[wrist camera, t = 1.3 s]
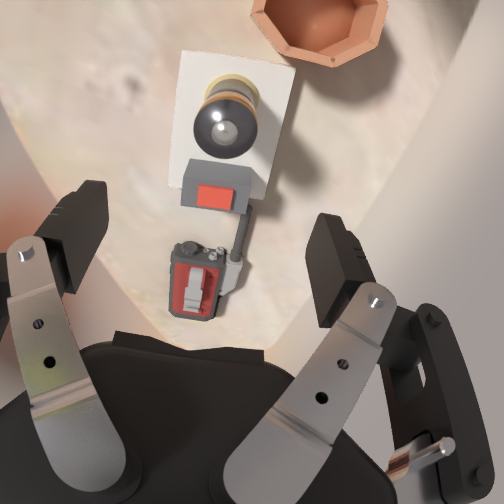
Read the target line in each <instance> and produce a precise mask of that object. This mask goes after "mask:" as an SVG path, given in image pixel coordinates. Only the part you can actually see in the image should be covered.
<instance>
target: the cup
mask: <svg viewBox="0 0 504 504" xmlns="http://www.w3.org/2000/svg"><path fill="white" fill-rule="evenodd" d="M387 4H388V2H387V0H254V3H253V7H252V11H251V18H252V20H253V21H254V22H255V23H256V25H257V26H258V27H259V29H260V30H261V31H262V33H263V34H264V35H265V37H266V38H267V39H268V41H269V42H270V43H271V45H272V46H273V48H274V49H275V50H276V51H278V52H279V53H281V54H282V55H285V56H289V57H294V58H298V59H302V60H306V61H310V62H314V63H318V64H321V65H325V66H328V67H332V68H333V67H335V68H336V67H337V66H339V65H341V64H343V63H345V62H347V61H349V60H351V59H353V58H356V57H358V56H360V55H362V54H364V53H366V52H368V51H370V50H372V49H375V48H376V47H375V46H378V42H379V39H380V35H381V32H382V28H383V24H384V21H385V17H386V13H387V9H388V5H387Z"/></svg>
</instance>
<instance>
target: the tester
mask: <svg viewBox="0 0 504 504" xmlns="http://www.w3.org/2000/svg"><path fill="white" fill-rule="evenodd" d="M295 72H296V68H295V67H294V66H289V65H285V64H280V63H275V62H270V61H265V60H260V59H254V58H249V57H242V56H236V55H229V54H222V53H214V52H205V51H195V50H183V51H182V54H181V61H180V68H179V75H178V83H177V91H176V99H175V108H174V117H173V127H172V138H171V149H170V162H169V176H168V187H174V188H182V194H181V206H187V207H195V208H202V209H209V210H217V211H224V212H231V213H238V214H244V215H245V214H246V209H247V205H248V200H249V198H253V199H259V200H264V196H265V192H266V188H267V184H268V180H269V176H270V172H271V168H272V164H273V160H274V156H275V152H276V148H277V144H278V140H279V136H280V132H281V128H282V124H283V120H284V116H285V112H286V108H287V104H288V100H289V96H290V92H291V88H292V84H293V80H294V76H295ZM225 79H238V80H241V81H243V82H245V83H246V84H247V85H248V86H249V87H250V88H251V90H252V92H253V95H254V103H255V111H256V115H257V123H258V133H257V137H256V140H255V142H254V144H253V145H252V147H251V148H250V149H249V150H248V151H247V152H246V153H244V154H243V155H241V156H239V157H236V158H232V159H219V158H215V157H212V156H210V155H208V154H207V153H205V152H204V151H203V150H202V149H201V148H200V147H199V146H198V144H197V142H196V140H195V138H194V132H193V125H194V120H195V117H196V115H197V114H198V112H199V110H200V108H201V106H202V104H203V103H204V102H205V100H206V98H207V97H208V95H209V93H210V91H211V89H212V88H213V87H214V86H215V84H217V83H218V82H220V81H222V80H225Z"/></svg>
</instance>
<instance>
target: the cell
mask: <svg viewBox="0 0 504 504" xmlns="http://www.w3.org/2000/svg"><path fill="white" fill-rule="evenodd" d="M193 132H194V138H195V140H196V142H197V144H198V146H199V147H200V148H201V149H202V150H203V151H204V152H205V153H207V154H208V155H210V156H212V157H215V158H219V159H232V158H236V157H239V156H241V155H243V154H244V153H246V152H247V151H248V150H249V149H250V148H251V147H252V145H253V144H254V142H255V140H256V137H257V133H258V123H257V115H256V111H255V103H254V95H253V92H252V90H251V88H250V87H249V86H248V85H247V84H246V83H245V82H243V81H241V80H238V79H225V80H222V81H220V82H218V83H217V84H215V86H214V87H213V88H212V89H211V91H210V93H209V95H208V97H207V98H206V100H205V102H204V103H203V104H202V106H201V108H200V110H199V112H198V114H197V115H196V117H195V120H194V125H193Z"/></svg>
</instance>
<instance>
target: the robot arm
mask: <svg viewBox="0 0 504 504" xmlns="http://www.w3.org/2000/svg"><path fill="white" fill-rule="evenodd" d="M108 223H109V212H108V198H107V185H106V182H104V181H94V180H86V181H85V182H84V183H83V184H82V185H81V186H80V188H79V189H78V190H77V191H76V192H71V193H69V194H68V195H66V196H65V197H63V198H62V199H61V200H60V201H59V203H58V204H57V205H56V208H54V209H53V210H52V211H51V213H50V215H48V217H47V218H46V219H45V220H44V222H43V223H42V225H41V226H40V227H39V228H38V230H37V231H36V233H35V234H34V235H33V236H27V237H23V238H21V239H19V240H17V241H15V242H14V243H13V244H12V245H11V246H10V248H9V249H8V251H7V253H0V341H1V338H2V336H3V334H4V331H5V329H6V326H7V324H8V322H9V319H10V323H11V328H12V333H13V338H14V343H15V347H16V352H17V356H18V360H19V364H20V368H21V372H22V375H23V379H24V383H25V386H26V389H27V390H25V391H24V392H23V393H21V394H20V395H19V396H17V397H16V398H15V399H14V400H12V401H11V402H9V403H8V404H7V405H6V406H4V407H3V408H2V409H0V504H469V503H471V502H474V501H477V500H480V499H482V498H484V497H485V496H487V495H488V494H489V492H490V491H491V489H492V487H493V484H494V478H495V476H494V475H495V473H494V467H493V461H492V457H491V452H490V448H489V443H488V439H487V434H486V430H485V427H484V423H483V419H482V415H481V412H480V408H479V405H478V401H477V398H476V395H475V392H474V388H473V385H472V382H471V379H470V376H469V373H468V370H467V367H466V364H465V361H464V359H463V356H462V353H461V351H460V348H459V345H458V343H457V340H456V337H455V335H454V332H453V330H452V327H451V326H450V323H449V320H448V318H447V316H446V315H445V314H444V313H443V312H442V310H440V309H439V308H438V307H436V306H434V305H432V304H428V303H424V304H421V305H420V306H419V308H418V309H417V310H416V311H415V312H413V311H410V310H408V309H405V308H402V307H400V306H397V303H396V299H395V297H394V296H393V294H392V293H391V292H390V291H389V290H388V289H386V288H385V287H383V286H382V285H380V284H378V283H376V280H375V278H374V275H373V273H372V270H371V268H370V266H369V263H368V261H367V259H366V256H365V254H364V252H363V249H362V247H361V244H360V242H359V240H358V239H357V238H356V237H355V236H354V234H353V233H352V232H351V231H347V230H346V228H345V226H344V224H343V221H342V219H341V217H340V216H336V215H331V214H326V213H320V214H319V215H318V217H317V220H316V223H315V225H314V228H313V231H312V233H311V236H310V239H309V241H308V244H307V248H306V254H305V259H306V265H307V269H308V274H309V279H310V284H311V288H312V293H313V298H314V303H315V308H316V313H317V318H318V324H319V327H320V328H331V329H330V331H329V333H328V334H327V335H326V337H325V338H324V340H323V341H322V342H321V344H320V345H319V347H318V348H317V349H316V351H315V352H314V353H313V355H312V356H311V358H310V359H309V360H308V362H307V363H306V364H305V366H304V367H303V368H302V370H301V371H300V372H299V374H298V375H297V376H296V378H294V377H293V376H292V375H291V374H289V373H288V372H286V371H285V370H283V369H282V368H280V367H278V366H276V365H273V364H271V363H269V362H265V361H264V350H255V349H244V348H234V347H221V348H212V349H202V350H190V351H189V350H184V349H181V348H179V347H176V346H173V345H171V344H168V343H165V342H163V341H160V340H158V339H155V338H153V337H150V336H143V335H138V334H132V333H126V332H120V331H115V334H114V338H113V341H107V342H101V343H97V344H93V345H90V346H88V347H85V348H83V349H82V350H80V349H79V346H78V344H77V341H76V338H75V336H74V333H73V330H72V328H71V325H70V322H69V320H68V317H67V314H66V311H65V308H64V305H63V302H62V299H61V298H62V296H63V294H64V292H66V293H71V294H76V292H77V290H78V288H79V286H80V283H81V281H82V279H83V277H84V275H85V273H86V271H87V269H88V267H89V265H90V263H91V261H92V259H93V257H94V255H95V253H96V251H97V249H98V247H99V245H100V243H101V241H102V239H103V237H104V236H105V234H106V231H107V228H108ZM420 362H422V365H423V369H424V373H425V377H426V382H425V386H424V388H423V385H422V381H421V377H420V373H419V369H418V366H417V365H418V364H419V363H420ZM376 364H379V365H380V369H381V374H382V379H383V384H384V389H385V394H386V399H387V404H388V410H389V416H390V422H391V428H392V435H393V441H394V448H395V452H394V453H393V454H392V456H391V457H390V460H389V465H388V468H387V469H386V471H385V472H384V471H383V470H382V469H381V468H380V467H379V466H378V465H377V464H376V463H375V462H374V461H373V460H372V459H371V458H370V457H369V456H368V455H367V454H366V453H365V452H364V451H363V450H362V449H361V448H360V447H359V446H358V445H357V444H356V443H355V442H354V440H353V439H352V438H351V437H350V436H349V435H348V434H347V433H346V432H345V431H344V430H343V429H342V427H343V426H344V424H345V422H346V420H347V419H348V417H349V415H350V413H351V412H352V410H353V408H354V406H355V404H356V402H357V400H358V399H359V397H360V395H361V393H362V391H363V389H364V387H365V385H366V383H367V381H368V379H369V377H370V375H371V373H372V371H373V369H374V367H375V365H376Z"/></svg>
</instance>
